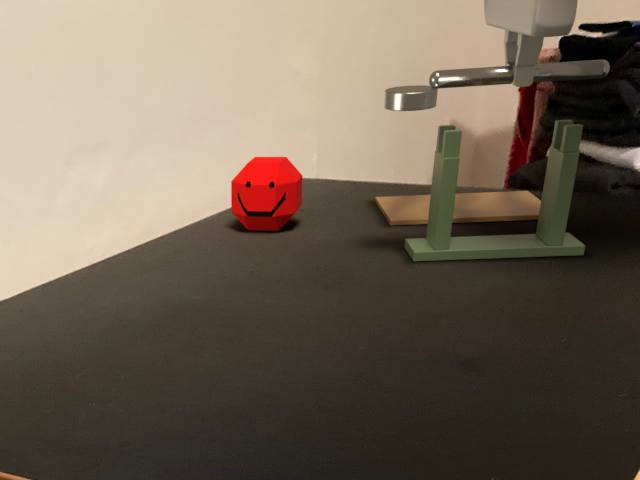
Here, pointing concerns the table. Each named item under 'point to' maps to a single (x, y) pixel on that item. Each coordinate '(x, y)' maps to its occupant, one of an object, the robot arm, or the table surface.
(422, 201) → the brown wooden board
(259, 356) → the table surface
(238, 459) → the table surface
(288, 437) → the table surface
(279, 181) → the ball
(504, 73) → the ladle
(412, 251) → the rack
